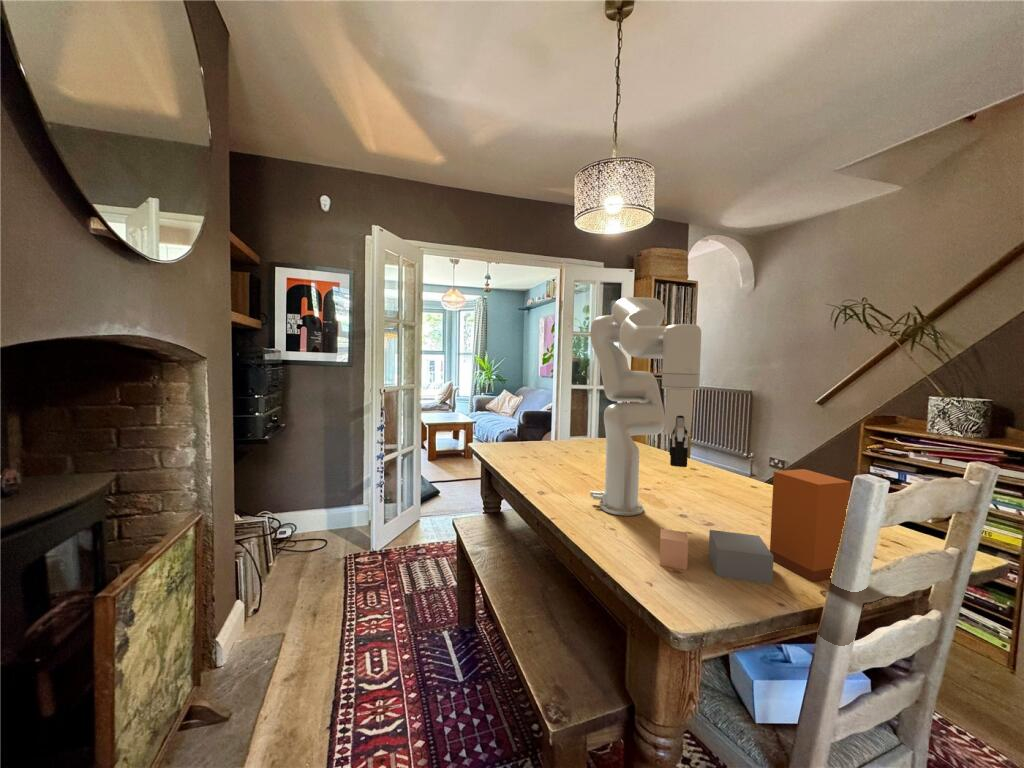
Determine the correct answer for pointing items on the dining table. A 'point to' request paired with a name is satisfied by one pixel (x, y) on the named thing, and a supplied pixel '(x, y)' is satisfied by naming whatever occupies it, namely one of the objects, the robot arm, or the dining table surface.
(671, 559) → the terracotta block
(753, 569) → the charcoal block
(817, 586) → the dining table surface
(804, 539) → the tall orange brick
